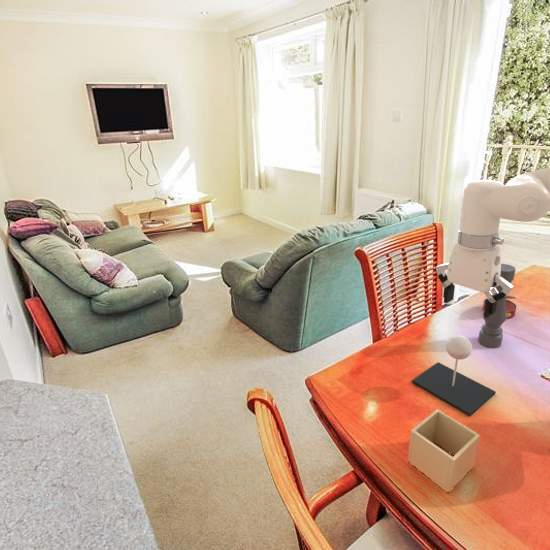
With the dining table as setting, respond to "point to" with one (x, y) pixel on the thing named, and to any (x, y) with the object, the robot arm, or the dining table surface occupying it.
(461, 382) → the mat
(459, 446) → the box
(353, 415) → the dining table surface
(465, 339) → the lollipop
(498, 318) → the candle holder
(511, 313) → the canned food
